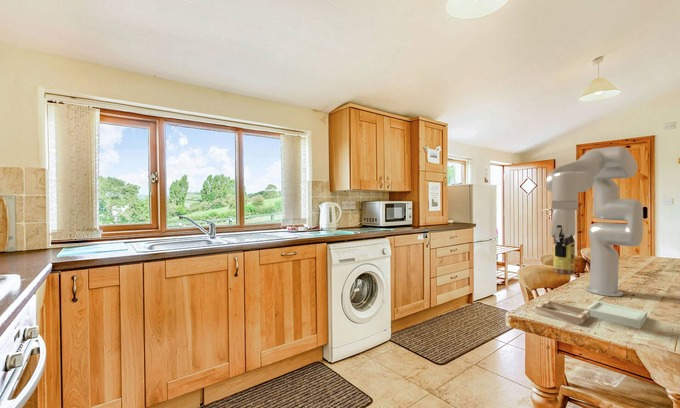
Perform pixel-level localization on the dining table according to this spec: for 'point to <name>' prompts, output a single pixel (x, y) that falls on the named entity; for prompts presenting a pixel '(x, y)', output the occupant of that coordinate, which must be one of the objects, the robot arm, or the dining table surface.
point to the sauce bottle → (567, 263)
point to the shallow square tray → (617, 314)
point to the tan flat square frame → (582, 313)
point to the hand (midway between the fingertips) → (563, 255)
